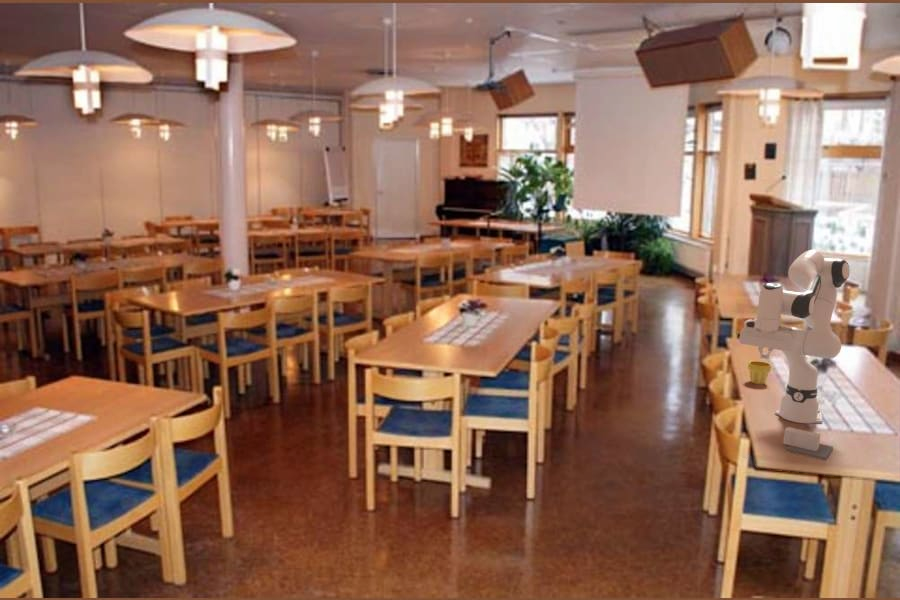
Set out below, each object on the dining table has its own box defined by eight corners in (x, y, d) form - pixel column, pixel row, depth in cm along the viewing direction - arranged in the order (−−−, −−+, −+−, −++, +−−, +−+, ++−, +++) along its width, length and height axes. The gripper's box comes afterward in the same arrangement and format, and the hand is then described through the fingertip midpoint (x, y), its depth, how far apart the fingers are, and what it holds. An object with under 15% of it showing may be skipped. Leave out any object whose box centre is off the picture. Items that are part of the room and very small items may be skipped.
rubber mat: (794, 440, 309) (794, 438, 309) (832, 449, 301) (833, 446, 301) (786, 451, 298) (786, 448, 298) (826, 460, 290) (826, 457, 290)
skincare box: (785, 440, 306) (819, 448, 299) (782, 444, 302) (816, 452, 295) (787, 425, 304) (821, 433, 297) (784, 429, 301) (818, 437, 294)
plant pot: (755, 378, 394) (757, 359, 392) (773, 384, 385) (775, 364, 383) (742, 381, 389) (744, 362, 387) (759, 386, 380) (762, 367, 378)
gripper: (798, 327, 305) (794, 361, 308) (744, 319, 317) (740, 352, 319) (794, 329, 300) (790, 364, 303) (739, 321, 312) (736, 355, 314)
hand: (764, 358), depth 311 cm, fingers closed
